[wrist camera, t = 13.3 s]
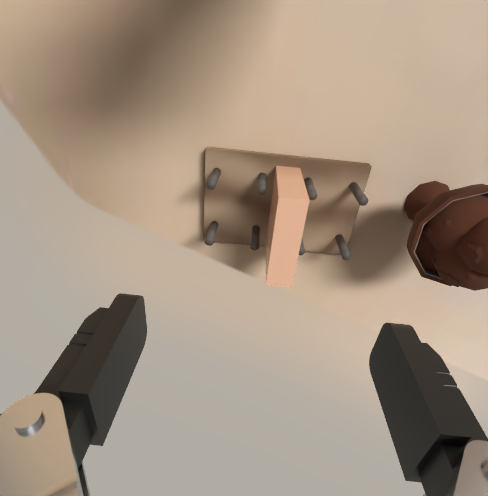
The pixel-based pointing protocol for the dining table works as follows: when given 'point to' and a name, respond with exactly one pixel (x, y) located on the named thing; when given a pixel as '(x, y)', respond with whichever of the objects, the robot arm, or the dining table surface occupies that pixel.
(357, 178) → the dish rack
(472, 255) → the ice cream bowl
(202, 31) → the dining table surface
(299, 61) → the dining table surface
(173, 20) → the dining table surface
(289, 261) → the peach chamfered block
